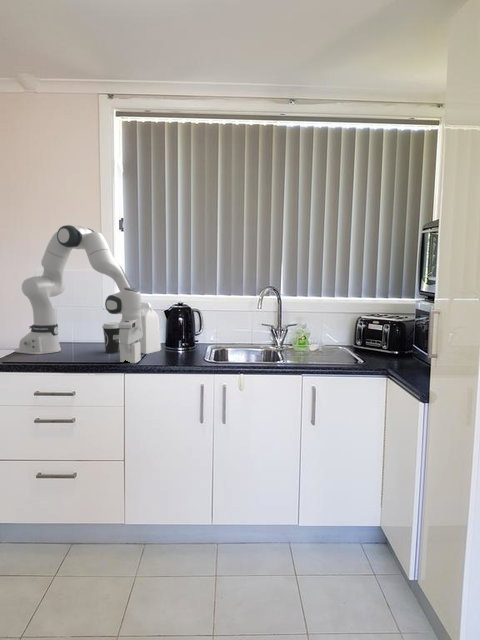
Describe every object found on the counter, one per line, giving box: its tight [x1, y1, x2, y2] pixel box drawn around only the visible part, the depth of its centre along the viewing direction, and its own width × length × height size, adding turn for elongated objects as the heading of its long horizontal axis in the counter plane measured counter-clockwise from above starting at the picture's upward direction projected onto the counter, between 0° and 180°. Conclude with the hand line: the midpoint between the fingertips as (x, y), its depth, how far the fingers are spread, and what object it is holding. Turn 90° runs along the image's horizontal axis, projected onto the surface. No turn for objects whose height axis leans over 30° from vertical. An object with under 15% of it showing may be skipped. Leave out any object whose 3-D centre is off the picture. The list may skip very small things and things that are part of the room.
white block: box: [119, 342, 142, 364], centre depth 218 cm, size 7×7×9 cm
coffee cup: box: [101, 321, 120, 354], centre depth 240 cm, size 10×10×15 cm
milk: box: [139, 301, 162, 355], centre depth 243 cm, size 12×12×26 cm
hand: (132, 351), depth 218 cm, fingers open, 8 cm apart
